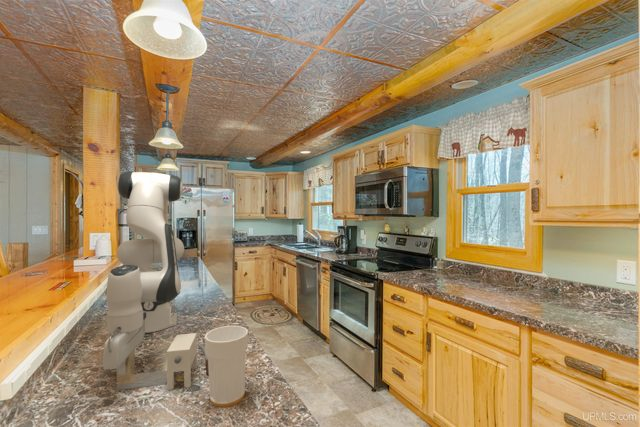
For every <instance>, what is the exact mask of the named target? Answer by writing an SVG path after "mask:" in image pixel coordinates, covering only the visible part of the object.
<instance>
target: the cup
mask: <svg viewBox="0 0 640 427" xmlns="http://www.w3.org/2000/svg"><path fill="white" fill-rule="evenodd" d="M204 343H205V353H206V355H207V356H208V371H209V376H208V387H209V388H208V390H209V391H208V392H209V401H210V403H211V404H212V405H213V406H215V407H218V408H219V407H220V408H227V407H231V406H233V405H236V404H238V403H240V402H241V401H242V400H243V399H244V397H245V396H246V395H245V394H246V358H247V357H246V353H247V352H246V351H247V350H248V347H249V346H248V345H249V330H248V329H247V328H246V327H245V326H241V325H225V326H219V327H216V328H213V329H210V330H209V331H207V332H206V334H205V335H204Z"/></svg>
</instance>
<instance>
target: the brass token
mask: <svg viewBox="0 0 640 427" xmlns="http://www.w3.org/2000/svg"><path fill="white" fill-rule="evenodd" d="M174 381H176V382H178V383H179V382H180V383H182V382H183V383H184V372H182V373H178V374H176V376H175V378H174Z"/></svg>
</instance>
